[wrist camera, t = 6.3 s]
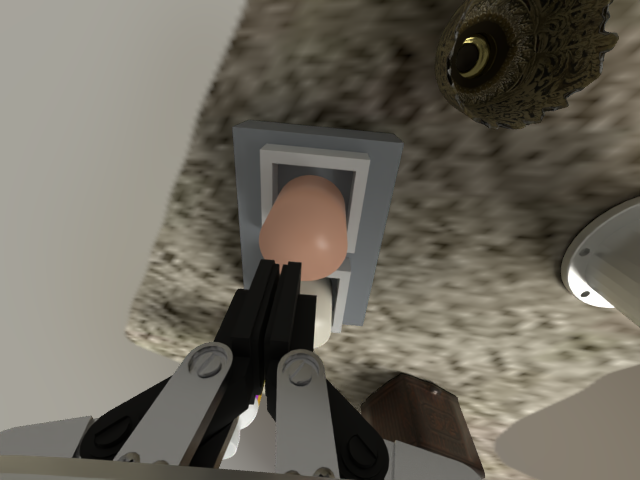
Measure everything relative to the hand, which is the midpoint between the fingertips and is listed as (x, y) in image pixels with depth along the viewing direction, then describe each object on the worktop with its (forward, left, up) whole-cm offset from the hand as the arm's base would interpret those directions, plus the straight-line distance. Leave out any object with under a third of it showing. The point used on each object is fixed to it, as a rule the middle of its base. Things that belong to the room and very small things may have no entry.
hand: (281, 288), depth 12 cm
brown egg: (0, 0, -9) cm, 9 cm away
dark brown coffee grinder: (-14, +31, -16) cm, 38 cm away
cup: (-11, -10, -15) cm, 21 cm away
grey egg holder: (-1, +5, -15) cm, 16 cm away
